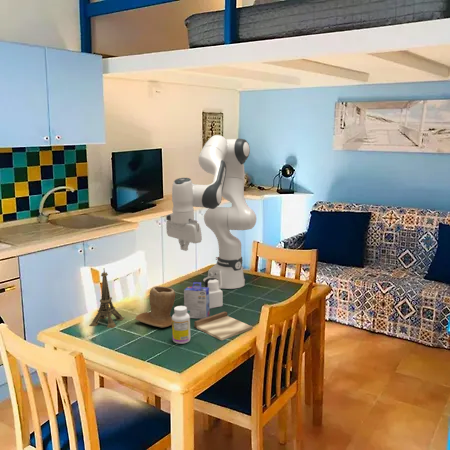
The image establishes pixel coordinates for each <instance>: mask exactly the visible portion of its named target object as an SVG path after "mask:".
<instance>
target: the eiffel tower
mask: <svg viewBox="0 0 450 450" xmlns="http://www.w3.org/2000/svg"><path fill="white" fill-rule="evenodd" d="M100 273H101V272H100ZM108 275H109V274H108V272H106V271H105V269H103V272H102V273H101V274H100V277H101V278H102V284H101V297H100V299H99V302H100V305H99V309H98V310H97V313H96V315H95V317H94V319H92V321H91V323H90V324H89V325H88V326H89V327H96V326H97V325H98V326H99V321H100V320H105V319H106V318H107V326H106V328H108V329H109V328H110V329H114V328H116V327H117V324H116V323H115V321H123V320H124V319H125V317H123V316H122V315H121V313H120V312H119V311H118V310H116V307H115V306H114V304H113V301H112V300H113V297H112V296H111V295H110V289H109V284H108V279H107V276H108ZM112 315H113V316H114V318H115V321H114V319H113V318H112Z"/></svg>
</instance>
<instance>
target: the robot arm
mask: <svg viewBox="0 0 450 450" xmlns="http://www.w3.org/2000/svg"><path fill="white" fill-rule="evenodd" d="M250 152H251V148H250V144H249V142H248V141H247V140H246V139H244V138H227V139H226V138H225V137H224V136H222V135H220V134H215V135H212V136H211V137H209V139H208V140H207V141H206V142H205V144H204V145H203V147H202V149H201V150H200V152H199V156H198V163H199V165H200V168H201V169H202V170H204V172H206V173H208V174H211V175H213V178H212V183H210V184H197V183H196V184H195V183H193V181H192V179H191V178H190V177H179V178H176V179H174V180H173V184H172V188H171V201H172V210H171V211H172V213H168V214H166V215H165V220H166V224H165V226H166V228H165V229H166V234H167V236H168V237H170V238H174V239H177V240H178V243H179V246H180V250H182V251H185V252H187V251H189V245H190V243H191V244H199V243H201V242H202V240H203V239H202V228H201V226H200V223H199V222H198V220H196V219H195V209H194V208H205V209H206V210H205V212H204V216H203V220H204V224H205V225H206V227H207V228H208V229H210V230H211V231H212V232H213V234H214V235H215V238H216V240H217V244H218V256H216V257H215V260H216V263H215V264H214V265H213V266H212V267H211V268H209V269H208V271H207V276H206V277H204V278H203V280H202V281H203V282H204V283H205V280H206V279H208V278H216V279H218V280H219V288H218V289H220V290H221V289H229V290H230V289H231V290H232V289H240V288H243V287H244V286H246V283H245V282H246V279H245V276H244V267H243V257H242V242H241V240H240V239H239V238H238V237H236V236H234V235H233V234H232V232H231V231H246V230H247V231H248V230H252V229H253V228H254V227H255V225H256V223H257V214H256V213H255V211H254V210H253V209H252V208H251V207H250V206H249V205H248V204H247V202H246V198H245V178H246V177H245V163H246V161H247V160H248V158H249V156H250V154H251V153H250ZM222 199H225V200H226V201H228V202H229V203H231V206H229V207H227V206H226V207H225V206H220V204H221V203H222Z"/></svg>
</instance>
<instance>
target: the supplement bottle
mask: <svg viewBox="0 0 450 450" xmlns="http://www.w3.org/2000/svg"><path fill="white" fill-rule="evenodd" d="M173 309H174V310H173V314H172V316H171V317H172V325H171V332H172V334H171V335H172V341H173V343H176V344H180V345H181V344H186V343H187V344H188V343H189V342H190V341H191V318H190V316H189V314H188V313H186V312H187V307H185V306H184V305H177V306H175V307H174V308H173Z"/></svg>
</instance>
